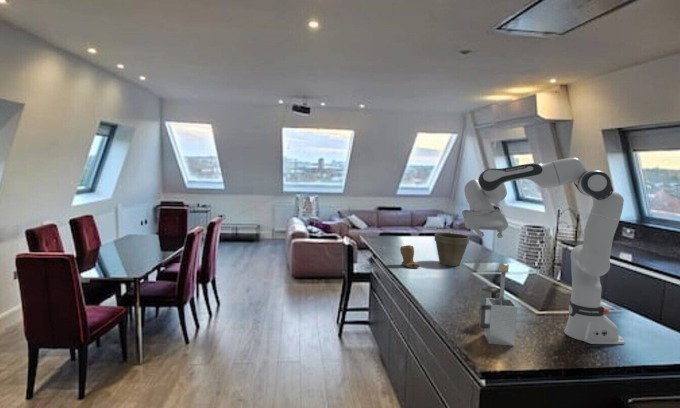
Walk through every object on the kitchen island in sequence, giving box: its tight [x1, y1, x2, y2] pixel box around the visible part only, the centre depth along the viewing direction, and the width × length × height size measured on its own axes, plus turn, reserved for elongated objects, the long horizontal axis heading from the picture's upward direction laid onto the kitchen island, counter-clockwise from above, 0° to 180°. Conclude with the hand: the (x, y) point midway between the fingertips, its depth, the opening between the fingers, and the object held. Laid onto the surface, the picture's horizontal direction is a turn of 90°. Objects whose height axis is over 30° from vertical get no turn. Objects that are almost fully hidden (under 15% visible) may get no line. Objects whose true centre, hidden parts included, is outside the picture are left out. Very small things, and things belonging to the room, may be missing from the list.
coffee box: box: [478, 285, 500, 325], centre depth 200 cm, size 9×6×16 cm
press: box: [478, 298, 518, 347], centre depth 180 cm, size 13×10×16 cm
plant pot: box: [434, 232, 470, 267], centre depth 322 cm, size 25×25×22 cm
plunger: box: [498, 262, 510, 306], centre depth 179 cm, size 8×8×22 cm
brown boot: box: [399, 244, 421, 269], centre depth 309 cm, size 15×12×15 cm
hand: (491, 236), depth 189 cm, fingers open, 8 cm apart
